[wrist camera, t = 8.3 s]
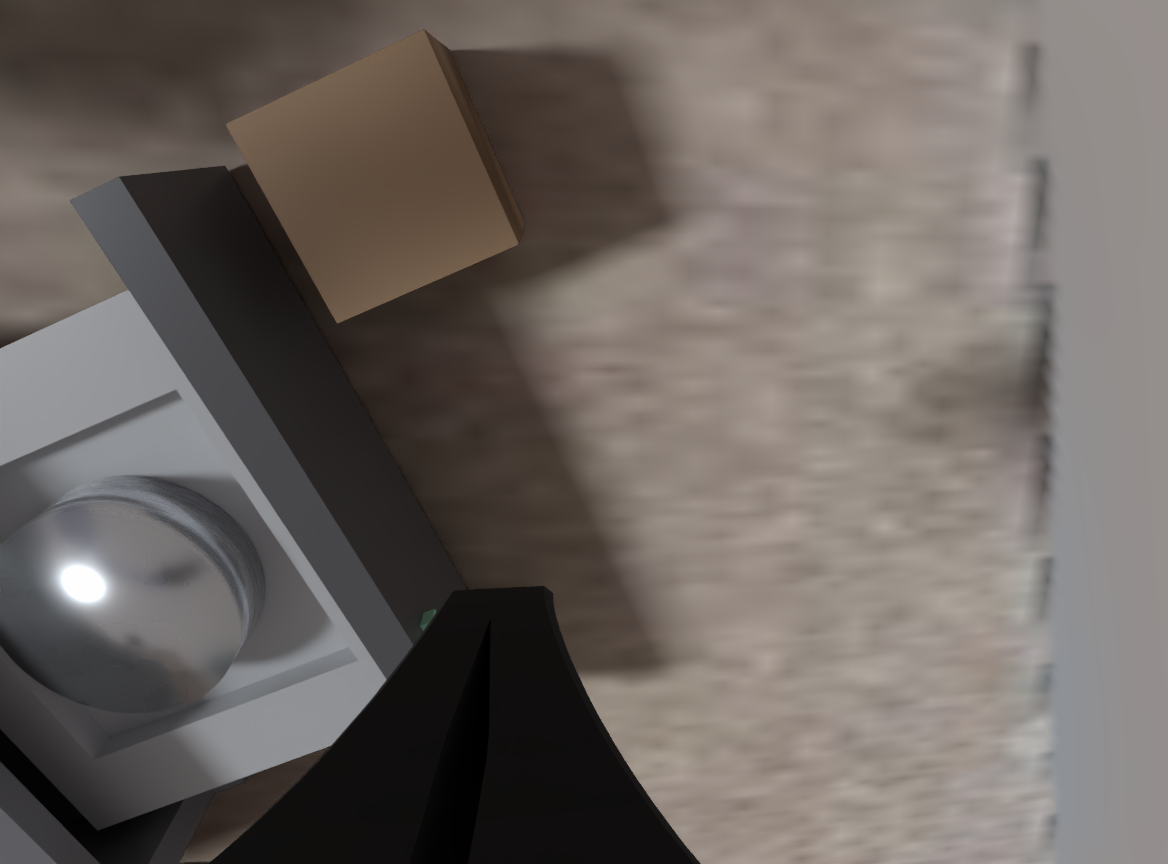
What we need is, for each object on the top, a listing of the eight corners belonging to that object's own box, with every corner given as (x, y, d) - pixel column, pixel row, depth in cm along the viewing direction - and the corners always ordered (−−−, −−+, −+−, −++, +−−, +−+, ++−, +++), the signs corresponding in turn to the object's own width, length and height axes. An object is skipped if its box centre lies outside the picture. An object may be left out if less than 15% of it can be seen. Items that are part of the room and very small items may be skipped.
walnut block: (289, 125, 17) (225, 123, 13) (449, 49, 16) (424, 29, 13) (375, 289, 18) (336, 323, 15) (525, 223, 18) (518, 244, 14)
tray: (-202, 366, 18) (-423, 435, 14) (236, 160, 17) (133, 169, 13) (172, 794, 24) (94, 932, 20) (522, 666, 22) (516, 787, 18)
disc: (-16, 527, 18) (-74, 568, 16) (180, 440, 17) (140, 474, 16) (127, 691, 20) (88, 742, 18) (307, 619, 19) (284, 666, 18)
